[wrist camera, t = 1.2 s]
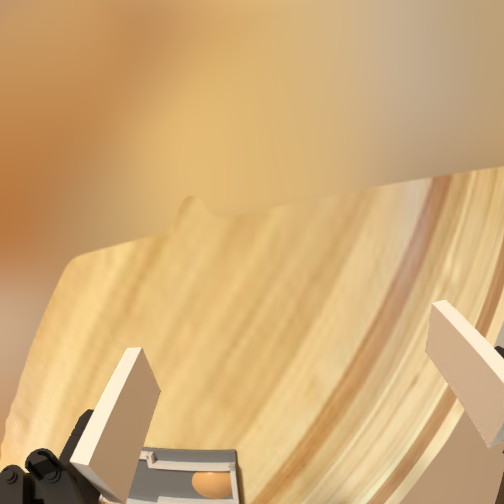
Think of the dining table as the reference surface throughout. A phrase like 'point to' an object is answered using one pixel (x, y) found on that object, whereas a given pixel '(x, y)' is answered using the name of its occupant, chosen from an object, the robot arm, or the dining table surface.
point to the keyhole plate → (184, 477)
